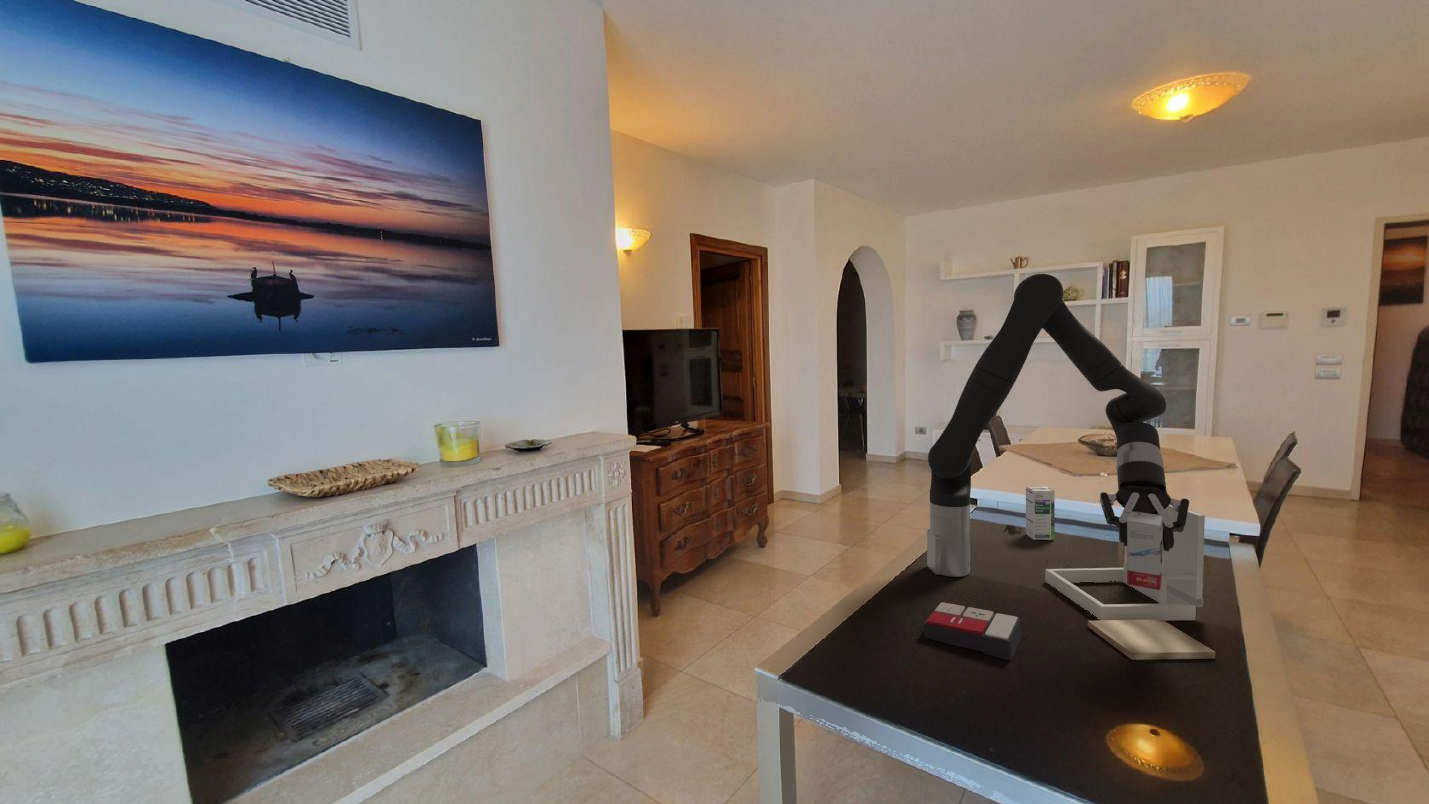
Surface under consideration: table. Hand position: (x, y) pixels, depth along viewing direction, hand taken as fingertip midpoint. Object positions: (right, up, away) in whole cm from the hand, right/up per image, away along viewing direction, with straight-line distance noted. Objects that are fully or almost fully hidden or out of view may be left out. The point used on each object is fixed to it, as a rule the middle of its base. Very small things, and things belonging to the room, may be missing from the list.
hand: (1146, 546), depth 102 cm
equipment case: (+7, -16, +18) cm, 25 cm away
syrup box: (+15, -13, +59) cm, 63 cm away
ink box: (0, -6, 0) cm, 6 cm away
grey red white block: (-30, -19, +4) cm, 36 cm away
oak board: (0, -18, 0) cm, 18 cm away
